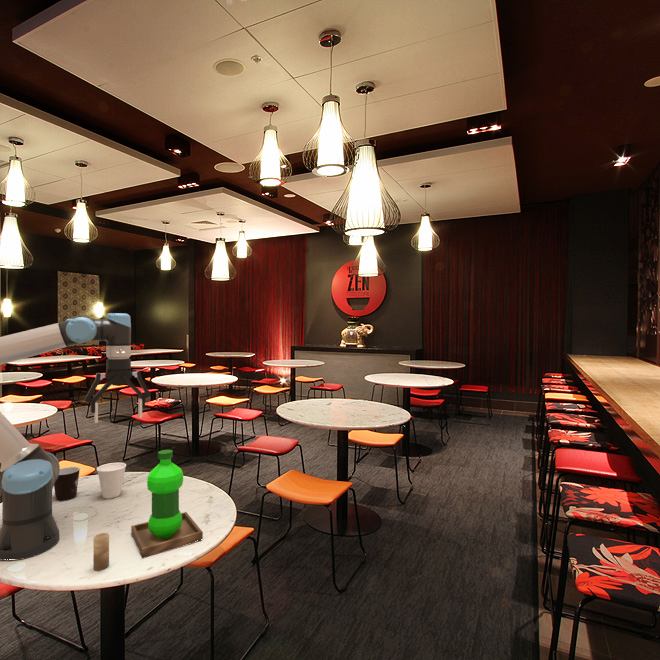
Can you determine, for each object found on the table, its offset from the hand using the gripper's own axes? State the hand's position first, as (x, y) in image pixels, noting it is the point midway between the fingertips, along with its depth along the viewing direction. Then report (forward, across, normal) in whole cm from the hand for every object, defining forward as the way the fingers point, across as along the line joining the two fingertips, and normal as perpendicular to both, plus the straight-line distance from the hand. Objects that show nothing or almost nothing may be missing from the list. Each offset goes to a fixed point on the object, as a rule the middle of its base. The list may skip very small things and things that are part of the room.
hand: (118, 419), depth 141 cm
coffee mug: (+32, -13, +26) cm, 43 cm away
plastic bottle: (+31, +9, -27) cm, 42 cm away
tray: (+32, +9, -28) cm, 43 cm away
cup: (+32, 0, +17) cm, 36 cm away
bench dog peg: (+32, -9, -34) cm, 47 cm away
